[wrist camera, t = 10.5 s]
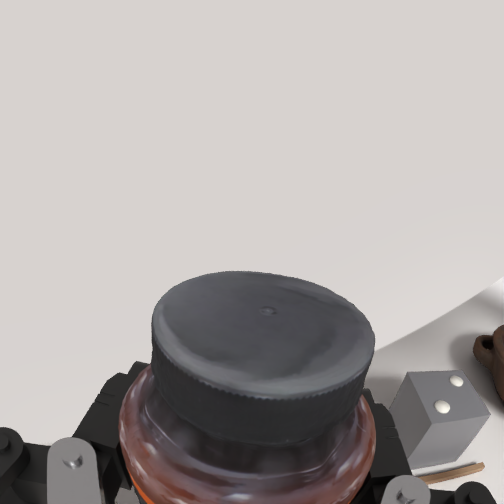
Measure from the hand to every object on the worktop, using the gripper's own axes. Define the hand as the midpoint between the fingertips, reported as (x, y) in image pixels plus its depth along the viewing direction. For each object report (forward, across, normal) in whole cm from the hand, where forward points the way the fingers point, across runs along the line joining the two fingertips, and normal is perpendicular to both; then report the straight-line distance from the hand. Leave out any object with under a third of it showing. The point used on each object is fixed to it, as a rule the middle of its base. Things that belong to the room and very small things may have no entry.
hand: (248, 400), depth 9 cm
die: (+6, -13, +10) cm, 17 cm away
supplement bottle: (-2, 0, +7) cm, 7 cm away
